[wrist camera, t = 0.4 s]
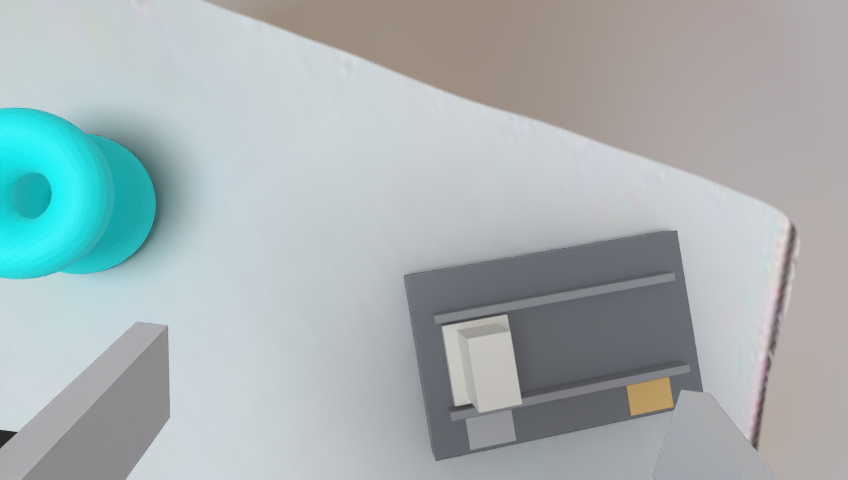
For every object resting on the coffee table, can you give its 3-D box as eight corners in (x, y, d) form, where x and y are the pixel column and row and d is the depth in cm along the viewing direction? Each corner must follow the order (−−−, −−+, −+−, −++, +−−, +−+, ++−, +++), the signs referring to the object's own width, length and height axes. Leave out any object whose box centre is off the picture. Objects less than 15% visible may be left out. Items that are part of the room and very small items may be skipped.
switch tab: (517, 390, 42) (537, 408, 38) (453, 403, 42) (466, 423, 37) (504, 313, 42) (523, 321, 38) (440, 324, 42) (451, 334, 37)
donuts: (40, 70, 31) (134, 222, 32) (116, 113, 41) (187, 229, 42) (-131, 157, 30) (-31, 314, 31) (-11, 180, 40) (64, 298, 40)
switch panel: (689, 396, 46) (714, 407, 43) (432, 451, 43) (438, 467, 40) (662, 231, 46) (685, 230, 43) (403, 275, 43) (407, 277, 40)
